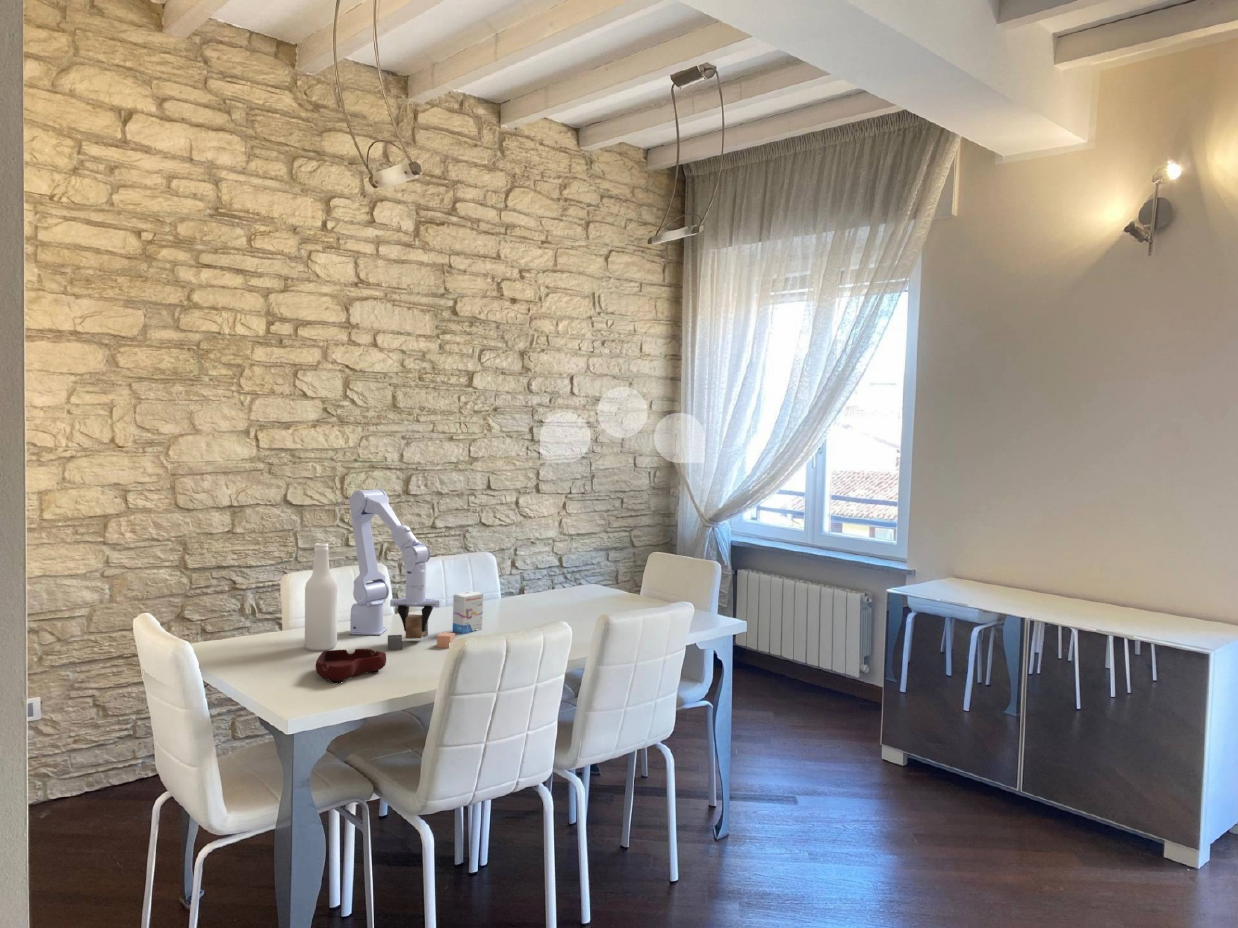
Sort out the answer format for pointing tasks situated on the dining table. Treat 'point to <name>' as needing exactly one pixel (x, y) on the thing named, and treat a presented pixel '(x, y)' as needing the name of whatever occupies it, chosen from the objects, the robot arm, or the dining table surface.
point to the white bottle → (321, 603)
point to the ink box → (467, 611)
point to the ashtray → (348, 663)
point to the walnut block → (414, 626)
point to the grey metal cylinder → (426, 630)
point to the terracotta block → (445, 639)
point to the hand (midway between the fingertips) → (415, 630)
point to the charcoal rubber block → (394, 642)
